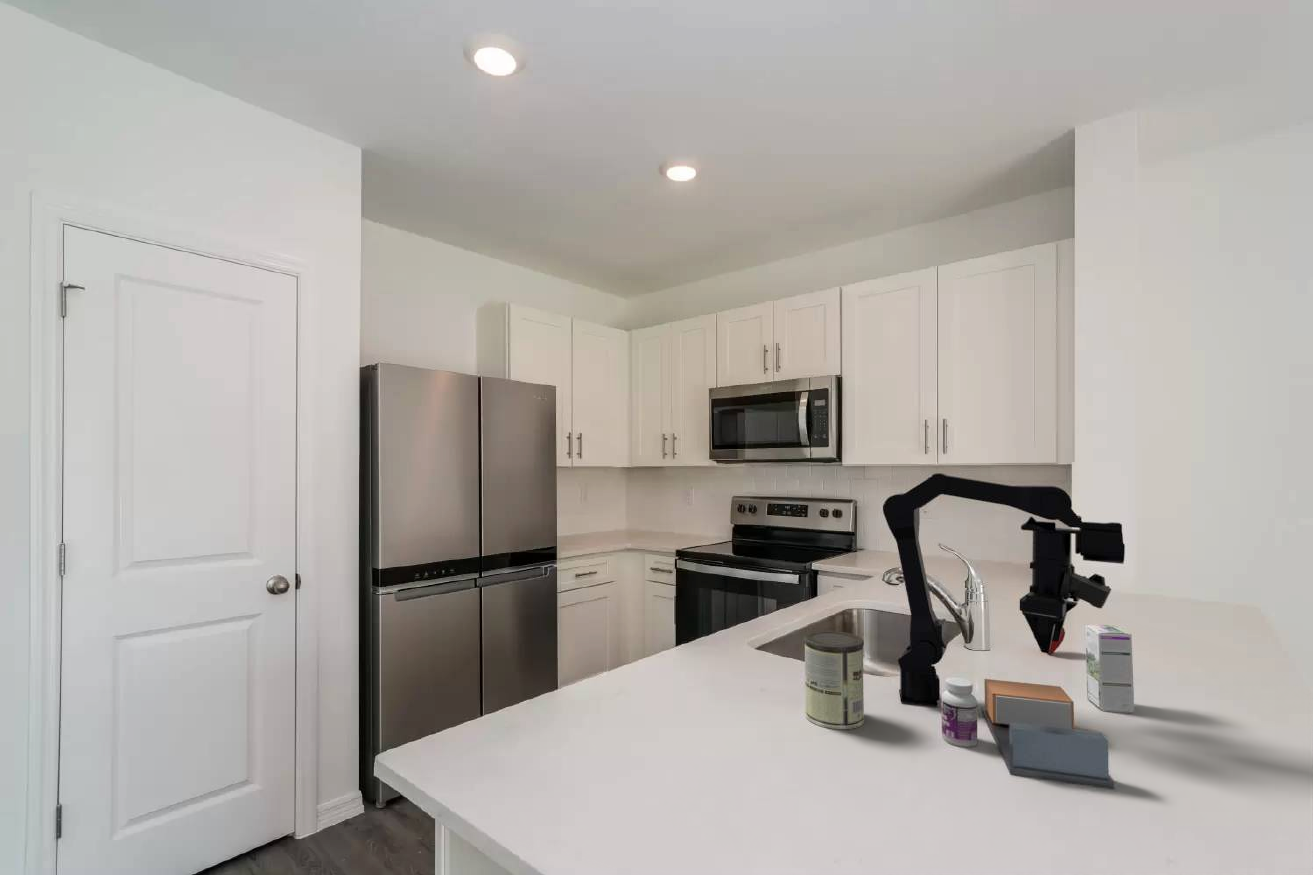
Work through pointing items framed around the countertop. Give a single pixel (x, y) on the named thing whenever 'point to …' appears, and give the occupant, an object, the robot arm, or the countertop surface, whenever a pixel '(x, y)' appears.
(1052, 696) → the block
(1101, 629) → the syrup box
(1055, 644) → the strawberry
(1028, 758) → the base
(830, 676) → the coffee can
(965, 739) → the pill bottle
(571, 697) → the countertop surface
